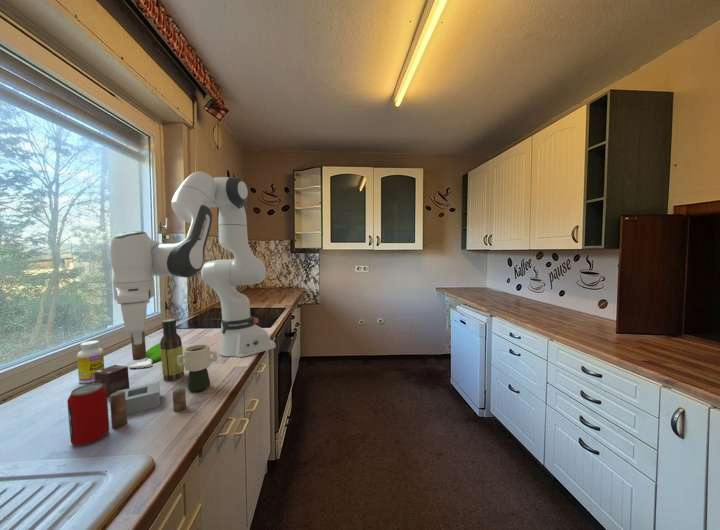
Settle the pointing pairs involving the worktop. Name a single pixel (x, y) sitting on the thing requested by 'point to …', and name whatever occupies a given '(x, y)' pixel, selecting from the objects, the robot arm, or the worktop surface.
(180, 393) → the short pin
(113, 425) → the medium pin
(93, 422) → the beverage can
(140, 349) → the long pin
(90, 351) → the supplement bottle
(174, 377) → the sauce bottle
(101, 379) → the box
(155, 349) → the spray bottle
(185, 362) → the character mug
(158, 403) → the socket block
